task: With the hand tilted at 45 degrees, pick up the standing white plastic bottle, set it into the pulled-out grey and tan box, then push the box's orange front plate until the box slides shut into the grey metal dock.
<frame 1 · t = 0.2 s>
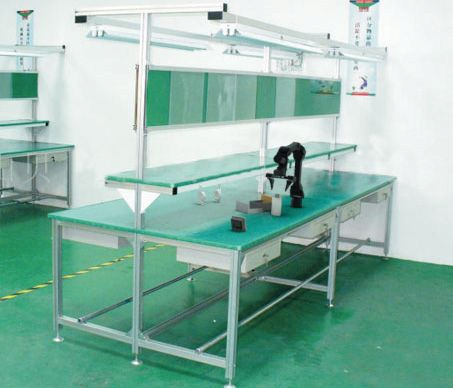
hand: (278, 190, 408), 15 cm above the table, tool tilted 15°, fingers open, 9 cm apart
electrical switch: (238, 230, 362), on the table
grey and tan box: (261, 202, 422), point 5 cm above the table, slide at 8.0 cm
bottle: (275, 214, 410), on the table
dock: (250, 210, 418), on the table
headset: (209, 203, 437), on the table
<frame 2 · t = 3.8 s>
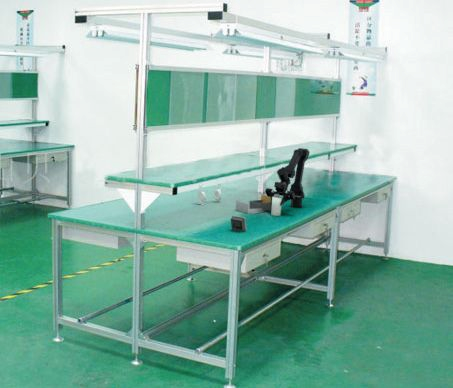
hand: (275, 204, 408), 7 cm above the table, tool tilted 45°, fingers closed on bottle, 6 cm apart
bottle: (275, 214, 410), on the table, touching gripper
everything else where it was.
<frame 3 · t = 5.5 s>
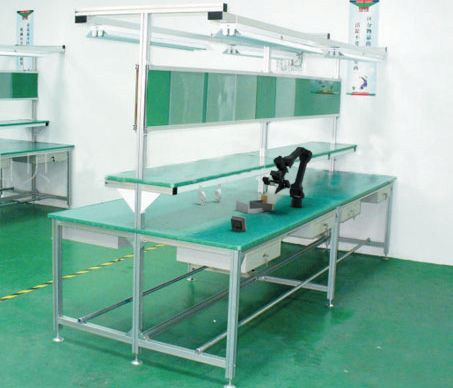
hand: (270, 192, 410), 13 cm above the table, tool tilted 45°, fingers closed on bottle, 6 cm apart
bottle: (271, 202, 412), point 7 cm above the table, touching gripper
everything else where it was.
when the fingers open (9 cm above the table, at t = 7.7 s): bottle drops 1 cm, resting on grey and tan box.
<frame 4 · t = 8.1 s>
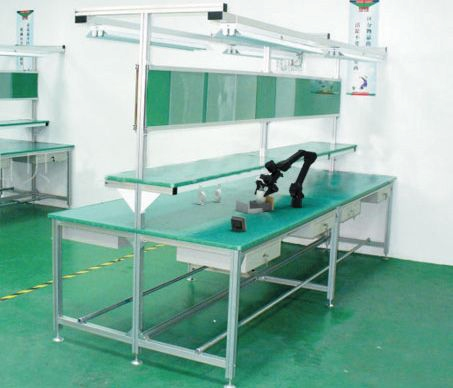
hand: (259, 195, 420), 10 cm above the table, tool tilted 45°, fingers open, 9 cm apart
grey and tan box: (261, 202, 422), point 5 cm above the table, slide at 8.0 cm, touching bottle
bottle: (260, 207, 422), point 2 cm above the table, touching grey and tan box
everything else where it was.
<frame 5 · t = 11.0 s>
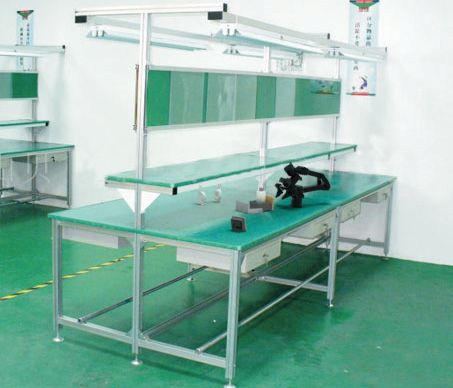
hand: (278, 198, 430), 7 cm above the table, tool tilted 45°, fingers open, 6 cm apart
nothing on the table moved.
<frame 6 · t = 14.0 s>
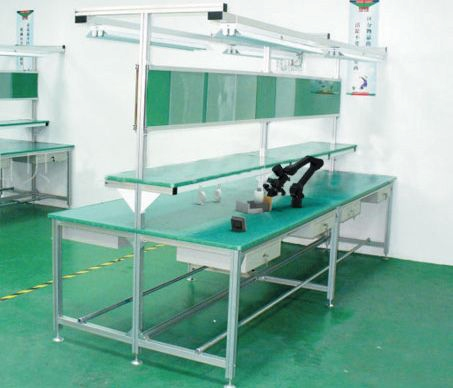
hand: (266, 199, 424), 7 cm above the table, tool tilted 45°, fingers closed, pressing on grey and tan box
grey and tan box: (258, 202, 421), point 5 cm above the table, slide at 6.3 cm, touching bottle, gripper
bottle: (258, 207, 421), point 2 cm above the table, touching grey and tan box
everything else where it was.
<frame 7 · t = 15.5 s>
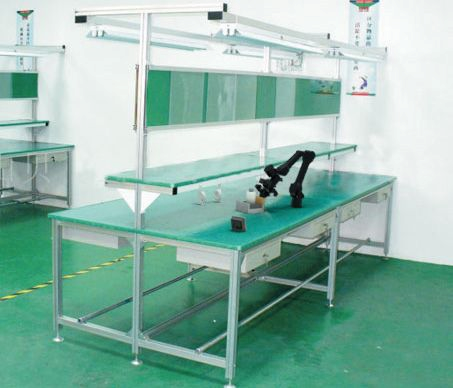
hand: (258, 199, 420), 7 cm above the table, tool tilted 45°, fingers closed, pressing on grey and tan box
grey and tan box: (251, 203, 417), point 5 cm above the table, slide at -0.1 cm, touching bottle, gripper
bottle: (250, 208, 418), point 1 cm above the table, touching grey and tan box
everything else where it was.
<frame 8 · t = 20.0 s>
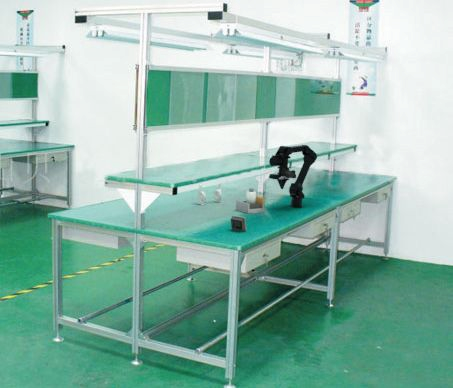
hand: (281, 189, 429), 13 cm above the table, tool pointing down, fingers closed
grey and tan box: (251, 203, 417), point 5 cm above the table, slide at 0.0 cm, touching bottle
everything else where it was.
at the end: grey and tan box slide at 0.0 cm; bottle inside the target area on the dock (0.1 cm from its centre), point 1.5 cm above the dock's base; bottle tilted 0° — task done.
